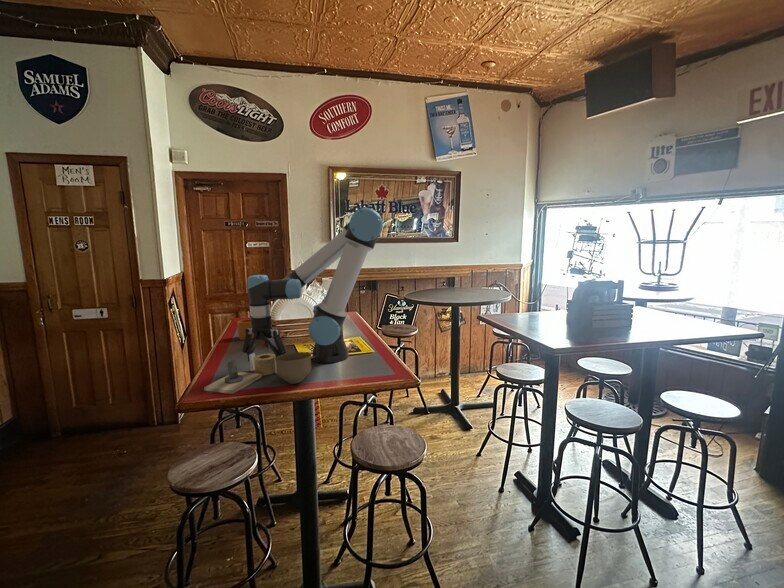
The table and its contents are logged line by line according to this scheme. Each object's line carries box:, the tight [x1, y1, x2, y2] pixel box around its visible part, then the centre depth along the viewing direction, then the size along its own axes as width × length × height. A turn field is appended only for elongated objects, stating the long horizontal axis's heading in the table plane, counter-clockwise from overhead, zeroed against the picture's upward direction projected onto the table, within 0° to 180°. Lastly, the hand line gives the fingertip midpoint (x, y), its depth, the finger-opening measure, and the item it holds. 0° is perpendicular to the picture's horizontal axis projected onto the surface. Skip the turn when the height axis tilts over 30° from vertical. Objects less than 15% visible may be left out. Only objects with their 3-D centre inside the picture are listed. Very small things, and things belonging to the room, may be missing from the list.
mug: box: [236, 318, 254, 341], centre depth 209 cm, size 9×12×9 cm
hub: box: [203, 360, 263, 395], centre depth 147 cm, size 12×16×8 cm
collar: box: [253, 353, 276, 376], centre depth 159 cm, size 8×8×6 cm
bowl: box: [275, 351, 313, 385], centre depth 147 cm, size 13×13×10 cm
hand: (265, 371), depth 159 cm, fingers open, 11 cm apart
